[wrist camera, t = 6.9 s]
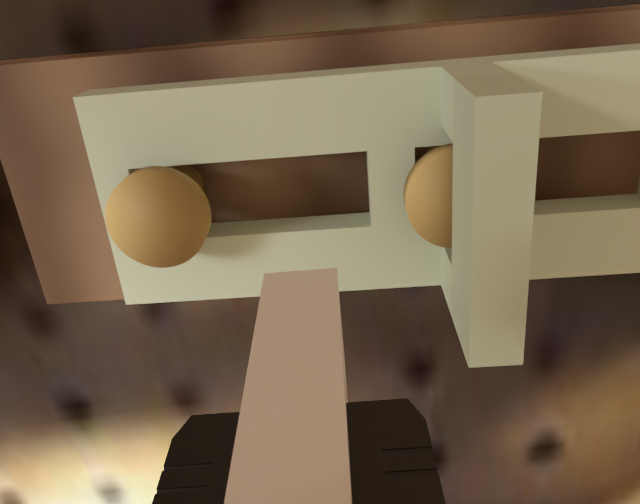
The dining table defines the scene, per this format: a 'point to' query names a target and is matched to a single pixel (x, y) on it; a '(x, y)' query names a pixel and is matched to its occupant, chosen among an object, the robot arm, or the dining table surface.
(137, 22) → the dining table surface
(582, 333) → the dining table surface
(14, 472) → the dining table surface
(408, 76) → the panel
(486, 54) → the rail
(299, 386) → the robot arm
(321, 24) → the dining table surface
